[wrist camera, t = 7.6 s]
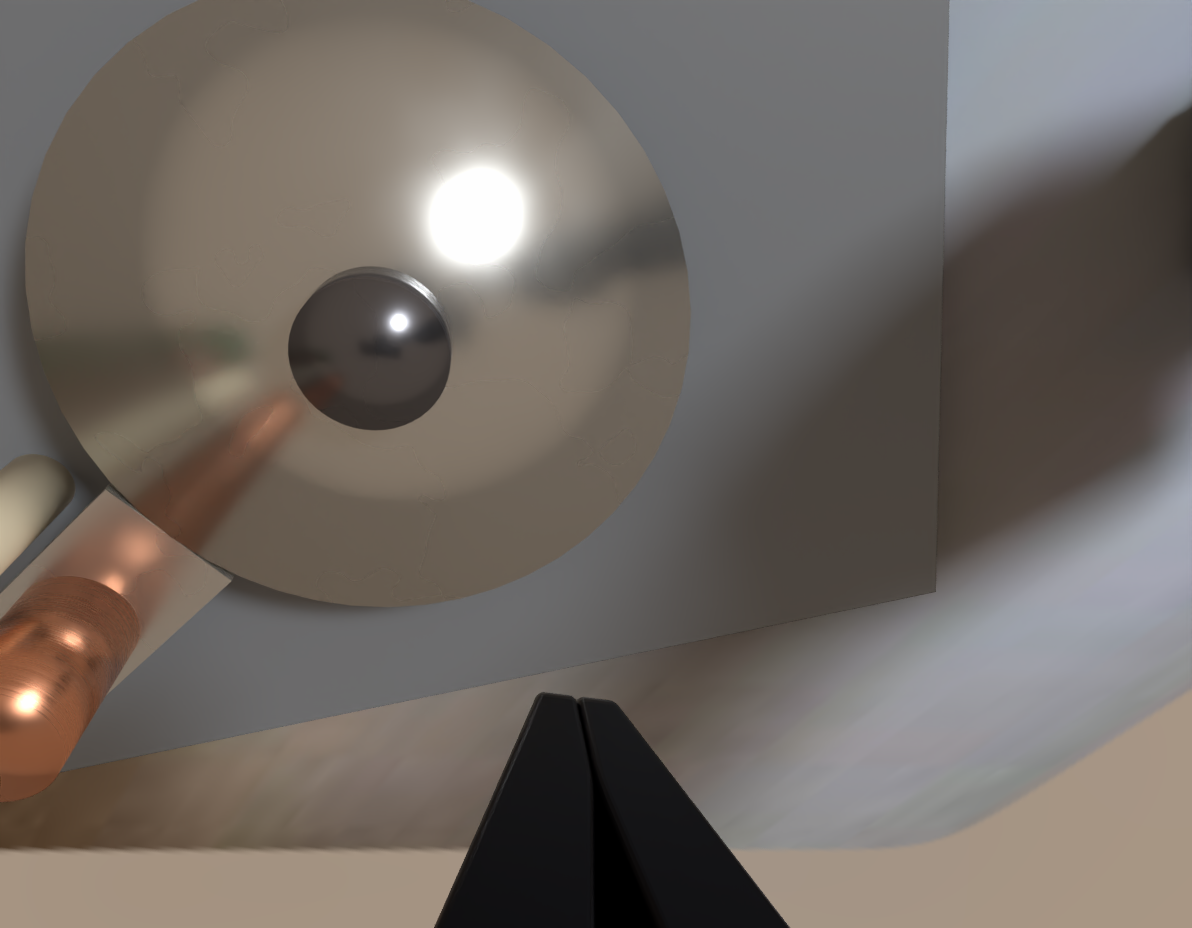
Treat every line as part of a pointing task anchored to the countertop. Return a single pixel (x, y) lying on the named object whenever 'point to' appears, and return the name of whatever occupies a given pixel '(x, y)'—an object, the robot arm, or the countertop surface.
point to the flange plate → (330, 329)
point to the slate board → (708, 396)
